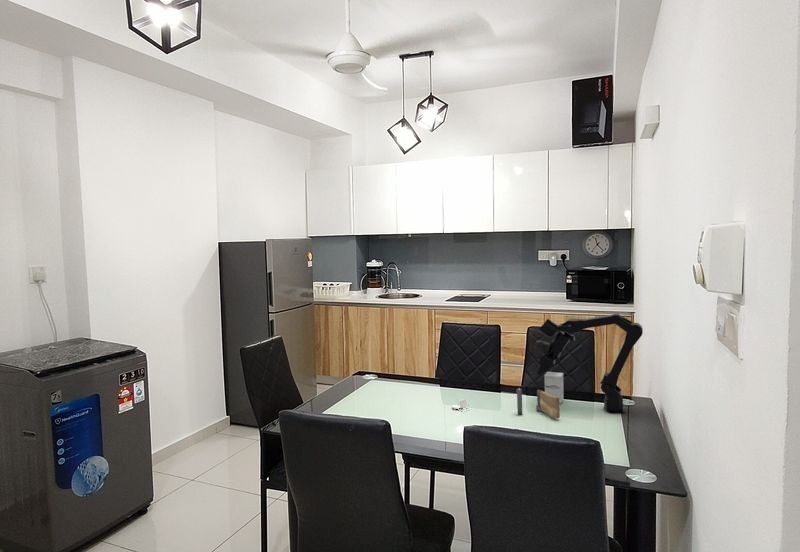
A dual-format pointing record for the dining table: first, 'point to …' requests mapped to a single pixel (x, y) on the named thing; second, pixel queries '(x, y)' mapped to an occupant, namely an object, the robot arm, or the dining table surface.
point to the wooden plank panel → (548, 403)
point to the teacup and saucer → (461, 404)
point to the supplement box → (554, 384)
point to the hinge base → (538, 408)
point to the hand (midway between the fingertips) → (540, 371)
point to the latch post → (519, 401)
